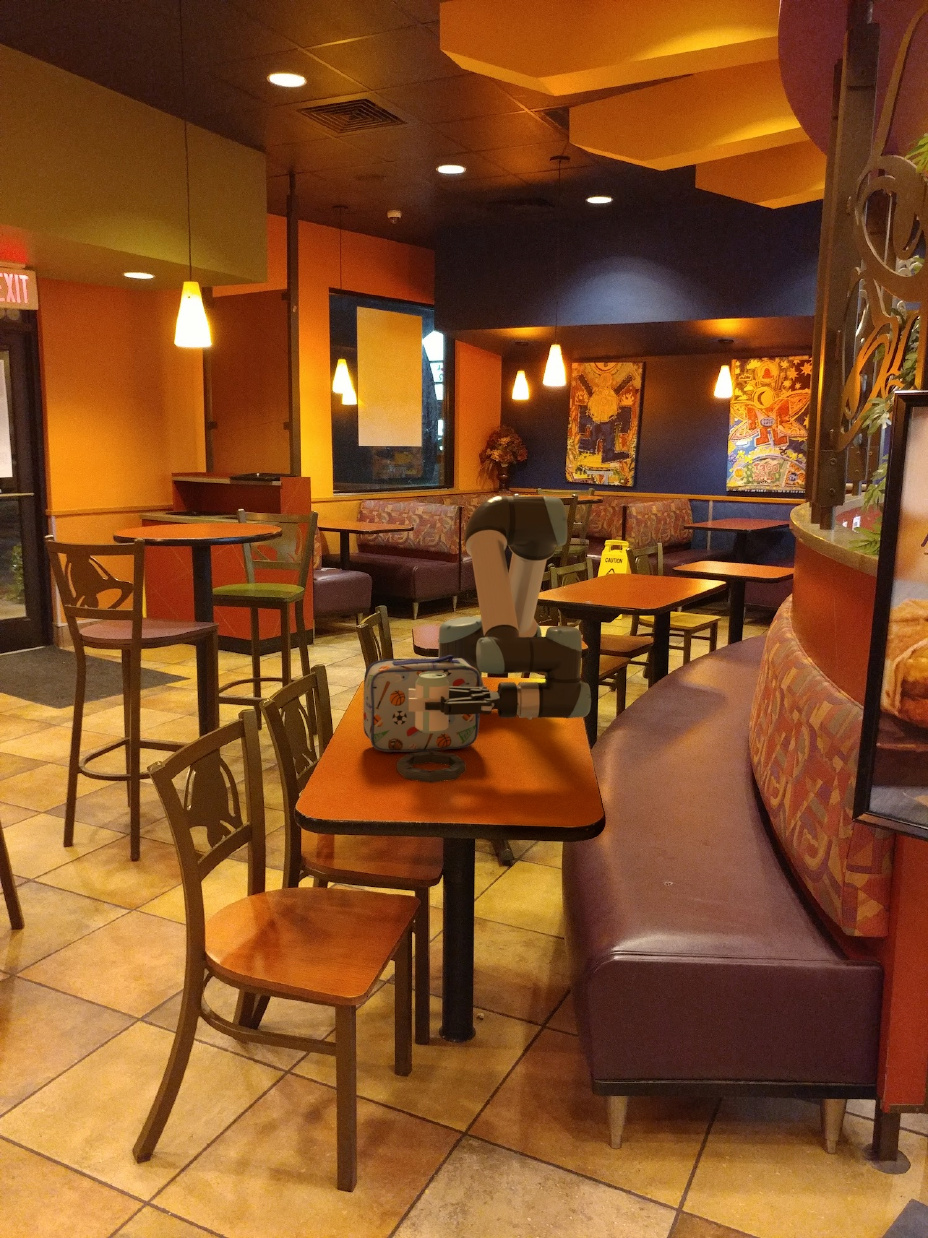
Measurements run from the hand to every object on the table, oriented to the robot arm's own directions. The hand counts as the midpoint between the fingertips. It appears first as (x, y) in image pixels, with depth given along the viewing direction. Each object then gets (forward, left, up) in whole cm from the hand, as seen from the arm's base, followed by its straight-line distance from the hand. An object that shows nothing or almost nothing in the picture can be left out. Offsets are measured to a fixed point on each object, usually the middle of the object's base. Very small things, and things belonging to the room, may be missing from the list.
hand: (408, 699), depth 203 cm
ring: (-2, +4, -16) cm, 17 cm away
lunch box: (-16, -4, -16) cm, 23 cm away
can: (-2, +4, -7) cm, 8 cm away
